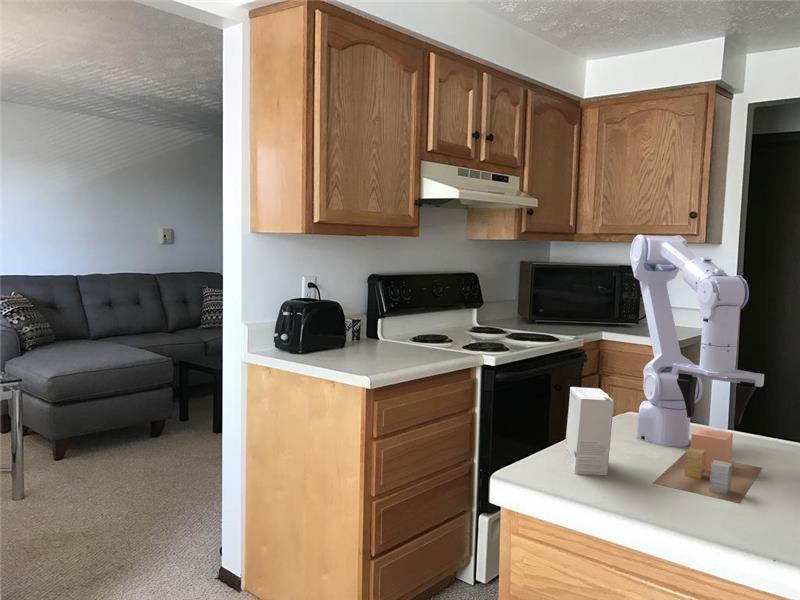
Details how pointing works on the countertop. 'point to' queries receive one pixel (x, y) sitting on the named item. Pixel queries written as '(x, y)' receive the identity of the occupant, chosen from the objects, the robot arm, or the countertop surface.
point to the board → (739, 480)
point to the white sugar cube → (720, 477)
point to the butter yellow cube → (695, 462)
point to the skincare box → (588, 431)
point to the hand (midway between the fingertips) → (713, 420)
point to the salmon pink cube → (713, 445)
